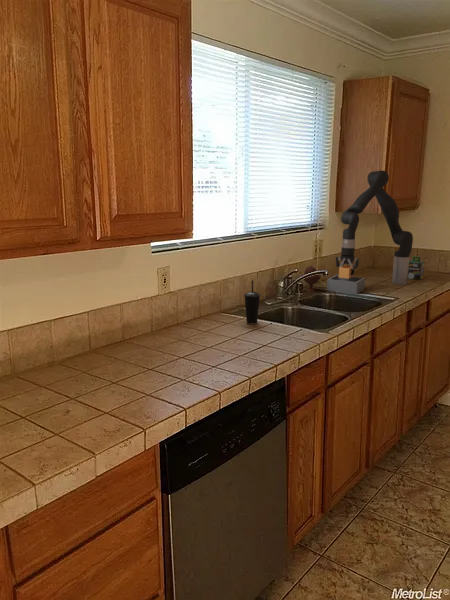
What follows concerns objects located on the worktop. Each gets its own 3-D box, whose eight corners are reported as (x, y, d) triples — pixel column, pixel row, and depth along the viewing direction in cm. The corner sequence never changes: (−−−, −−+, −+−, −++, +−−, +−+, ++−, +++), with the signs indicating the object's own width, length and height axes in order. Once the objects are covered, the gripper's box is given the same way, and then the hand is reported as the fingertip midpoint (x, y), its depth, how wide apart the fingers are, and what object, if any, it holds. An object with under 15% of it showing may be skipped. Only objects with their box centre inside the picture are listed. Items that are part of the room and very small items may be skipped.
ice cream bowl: (321, 292, 299) (322, 267, 296) (302, 292, 300) (303, 267, 296) (318, 288, 310) (319, 264, 306) (300, 288, 310) (301, 264, 306)
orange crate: (344, 274, 311) (344, 265, 309) (353, 275, 308) (354, 266, 306) (338, 277, 302) (339, 267, 301) (348, 278, 299) (349, 268, 298)
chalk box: (423, 278, 343) (425, 256, 340) (420, 280, 336) (422, 257, 332) (409, 276, 348) (411, 254, 345) (406, 278, 341) (407, 256, 337)
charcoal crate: (335, 285, 318) (336, 274, 317) (364, 289, 309) (365, 277, 308) (326, 290, 305) (327, 279, 303) (356, 294, 296) (357, 282, 294)
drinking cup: (248, 325, 234) (249, 282, 229) (240, 321, 240) (241, 279, 236) (263, 323, 237) (264, 281, 232) (254, 319, 244) (255, 278, 239)
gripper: (362, 246, 300) (360, 275, 304) (338, 245, 308) (336, 272, 312) (358, 248, 294) (356, 277, 298) (334, 246, 301) (332, 274, 305)
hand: (346, 274), depth 305 cm, fingers closed on orange crate, 6 cm apart
